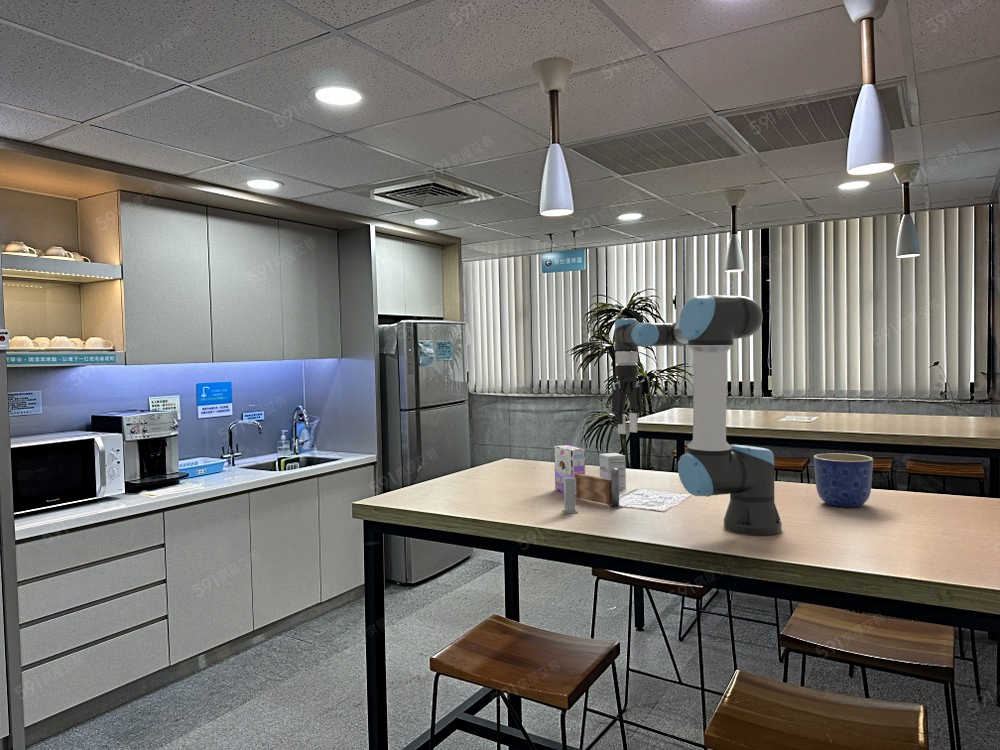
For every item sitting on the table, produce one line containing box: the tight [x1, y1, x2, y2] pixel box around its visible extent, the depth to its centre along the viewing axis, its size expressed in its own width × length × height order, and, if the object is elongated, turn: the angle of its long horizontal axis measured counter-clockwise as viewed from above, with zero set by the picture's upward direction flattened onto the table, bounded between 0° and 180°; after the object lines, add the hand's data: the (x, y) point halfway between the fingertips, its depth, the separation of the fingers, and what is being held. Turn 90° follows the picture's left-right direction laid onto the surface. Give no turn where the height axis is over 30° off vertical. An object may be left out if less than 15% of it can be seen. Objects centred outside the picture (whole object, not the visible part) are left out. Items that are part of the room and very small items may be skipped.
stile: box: [561, 477, 579, 515], centre depth 213 cm, size 4×4×11 cm
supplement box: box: [599, 452, 627, 491], centre depth 250 cm, size 7×7×13 cm
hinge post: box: [608, 468, 624, 510], centre depth 219 cm, size 4×4×13 cm
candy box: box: [553, 444, 586, 497], centre depth 245 cm, size 14×6×16 cm, turn 22°
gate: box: [575, 474, 612, 505], centre depth 227 cm, size 15×2×8 cm, turn 39°
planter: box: [813, 452, 874, 508], centre depth 216 cm, size 17×17×15 cm
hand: (627, 432), depth 230 cm, fingers open, 5 cm apart
